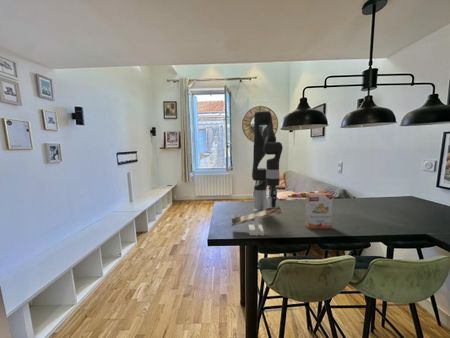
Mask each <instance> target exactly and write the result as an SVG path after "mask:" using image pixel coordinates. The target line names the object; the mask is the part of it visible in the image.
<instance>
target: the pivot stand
mask: <svg viewBox="0 0 450 338" xmlns="http://www.w3.org/2000/svg"><path fill="white" fill-rule="evenodd" d="M253 213H257V209H254V208H253V212H252V214H253ZM248 233H249V236H250V235H256V236H257V235H261V237H262V235H263V237H264V236H265V231H264V228H263V225H262V224H259V219H258V215H255V220H254V221H253V224H248ZM256 236H255V237H256ZM257 237H258V236H257Z"/></svg>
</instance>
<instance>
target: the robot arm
mask: <svg viewBox="0 0 450 338" xmlns="http://www.w3.org/2000/svg"><path fill="white" fill-rule="evenodd" d="M253 119H254V120H253V129H254V130H253V131H254V132H253V133H254V134H253V135H254V136H253V151H252V152H253V155H252V156H253V161H252V170H251V171H252V173H251V178H252V180H253V181H256V182H257V181H261V182H259V183H258V184H255V185H254V188H253V189H254V190H253V191H254V192H253V195H254V196H253V198H254V199H253V203H254V206H253V207H254V208H253V209H257V212H261V211H264V210H265V208H268V197H271V207H276V200H277V199H278V198H277V197H278V196H277V195H278V191H277V188H276V187H278V186H280V178H281V177H280V174H281V173H280V161H281V156H282V152H283V148H284V147H283V145H282V143H281V142H280V141H277V137H276V134H275V132H274V125H273V116H272V113H271V112H270V110H269V111H268V110H262V111H261V110H259V111H255V112H254V115H253ZM260 126H265V127H264V129H263V131H262V132H261V130H260ZM266 155H269V156H270V155H272V156H274V157H272V158H271V157H270V158H268V159H266V168H264V167H259V166H260V165H259V164H260V163H261V162H262V160H263V158H265V156H266ZM258 167H259V168H258ZM267 187H268V189H267ZM267 190H268V195H269V196H267ZM273 197H275V199H273Z"/></svg>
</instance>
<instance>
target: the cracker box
mask: <svg viewBox="0 0 450 338" xmlns="http://www.w3.org/2000/svg"><path fill="white" fill-rule="evenodd" d="M333 197H334V195H333V194H332V193H330V192H307V193H305V216H304V217H305V219H304V223H305V224H304V226H305V227H306V228H307V229H308V230H310V229H311V230H315V229H318V230H320V229H323V230H324V229H332V221H333V220H332V218H333V203H334V202H333V200H334V199H333Z"/></svg>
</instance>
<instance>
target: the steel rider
mask: <svg viewBox="0 0 450 338" xmlns="http://www.w3.org/2000/svg"><path fill="white" fill-rule="evenodd" d="M273 199H275V197H273ZM278 200H279V199H278V198H277V200H276V207H271V197H270V196H267V208H268V207H269V208H278V206H279V202H278Z"/></svg>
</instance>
